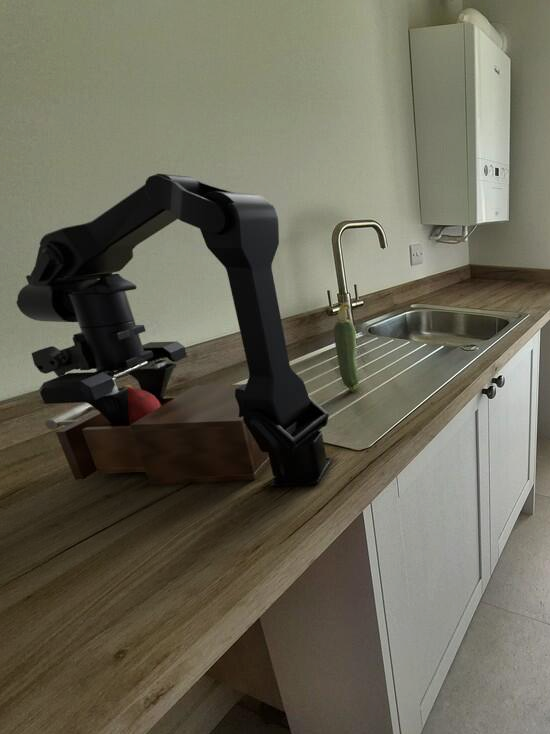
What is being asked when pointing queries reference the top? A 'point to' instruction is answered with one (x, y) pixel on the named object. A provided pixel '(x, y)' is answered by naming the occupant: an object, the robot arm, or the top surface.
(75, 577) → the top surface
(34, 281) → the robot arm
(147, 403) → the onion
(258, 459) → the cabinet
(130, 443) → the drawer
